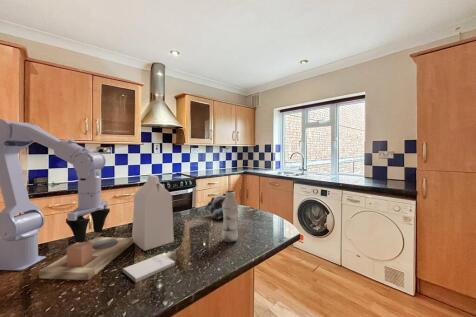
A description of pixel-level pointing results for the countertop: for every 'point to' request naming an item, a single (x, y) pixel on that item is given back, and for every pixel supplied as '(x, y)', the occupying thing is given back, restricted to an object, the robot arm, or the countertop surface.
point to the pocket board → (101, 256)
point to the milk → (152, 215)
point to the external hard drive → (148, 267)
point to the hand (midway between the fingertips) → (89, 236)
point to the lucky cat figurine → (217, 206)
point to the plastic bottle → (230, 217)
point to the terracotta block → (79, 254)
